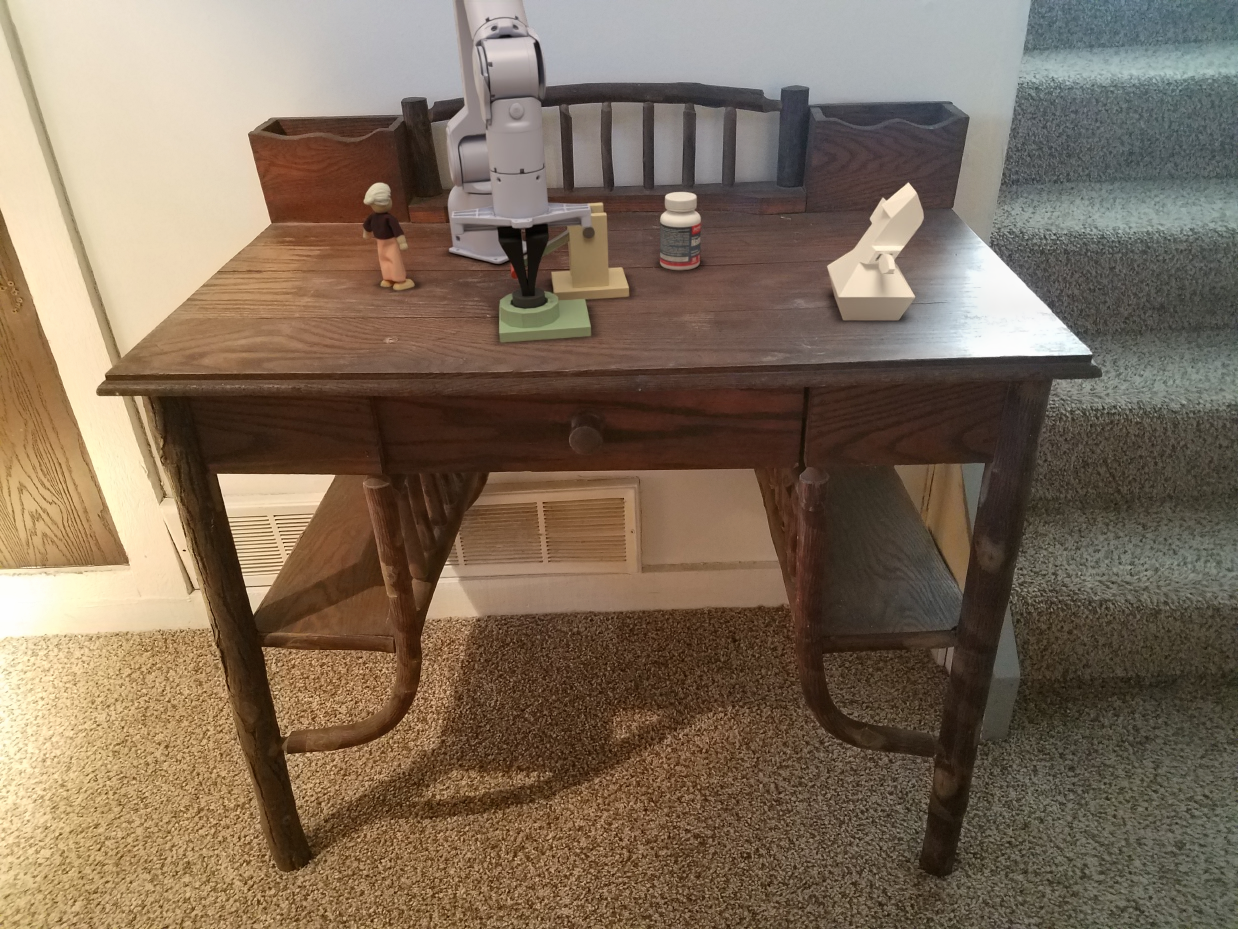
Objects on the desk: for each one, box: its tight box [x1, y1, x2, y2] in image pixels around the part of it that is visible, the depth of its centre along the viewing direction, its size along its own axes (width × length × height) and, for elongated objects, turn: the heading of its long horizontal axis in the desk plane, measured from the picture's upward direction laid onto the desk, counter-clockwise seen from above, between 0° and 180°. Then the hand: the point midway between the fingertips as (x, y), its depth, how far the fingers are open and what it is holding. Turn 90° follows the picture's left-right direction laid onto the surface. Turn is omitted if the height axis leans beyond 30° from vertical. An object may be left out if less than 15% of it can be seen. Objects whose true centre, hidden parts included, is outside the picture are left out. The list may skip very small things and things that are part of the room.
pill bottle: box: [659, 191, 702, 272], centre depth 111 cm, size 5×5×9 cm
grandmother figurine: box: [362, 182, 416, 291], centre depth 107 cm, size 8×4×13 cm, turn 65°
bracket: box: [550, 202, 630, 301], centre depth 105 cm, size 9×7×10 cm
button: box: [511, 286, 546, 309], centre depth 97 cm, size 4×4×2 cm
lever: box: [510, 208, 594, 280], centre depth 104 cm, size 12×5×2 cm, turn 96°
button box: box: [498, 290, 592, 343], centre depth 98 cm, size 10×8×3 cm
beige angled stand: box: [826, 182, 925, 321], centre depth 96 cm, size 8×14×14 cm, turn 176°
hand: (528, 292), depth 96 cm, fingers closed, pressing on button
